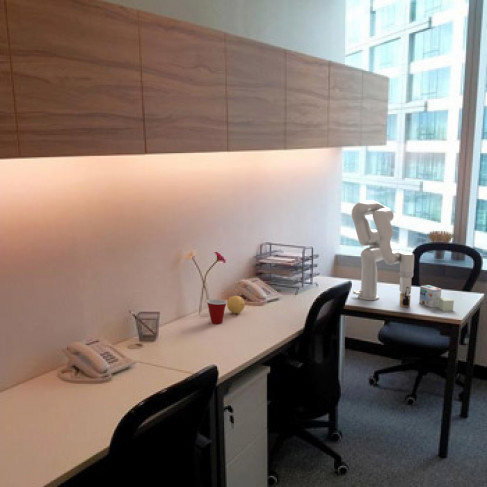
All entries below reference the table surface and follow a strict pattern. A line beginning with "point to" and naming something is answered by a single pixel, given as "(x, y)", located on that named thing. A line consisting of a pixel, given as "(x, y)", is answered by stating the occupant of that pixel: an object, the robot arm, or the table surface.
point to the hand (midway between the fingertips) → (404, 303)
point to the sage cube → (445, 304)
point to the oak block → (402, 300)
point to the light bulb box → (429, 295)
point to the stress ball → (235, 304)
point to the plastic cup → (216, 310)
